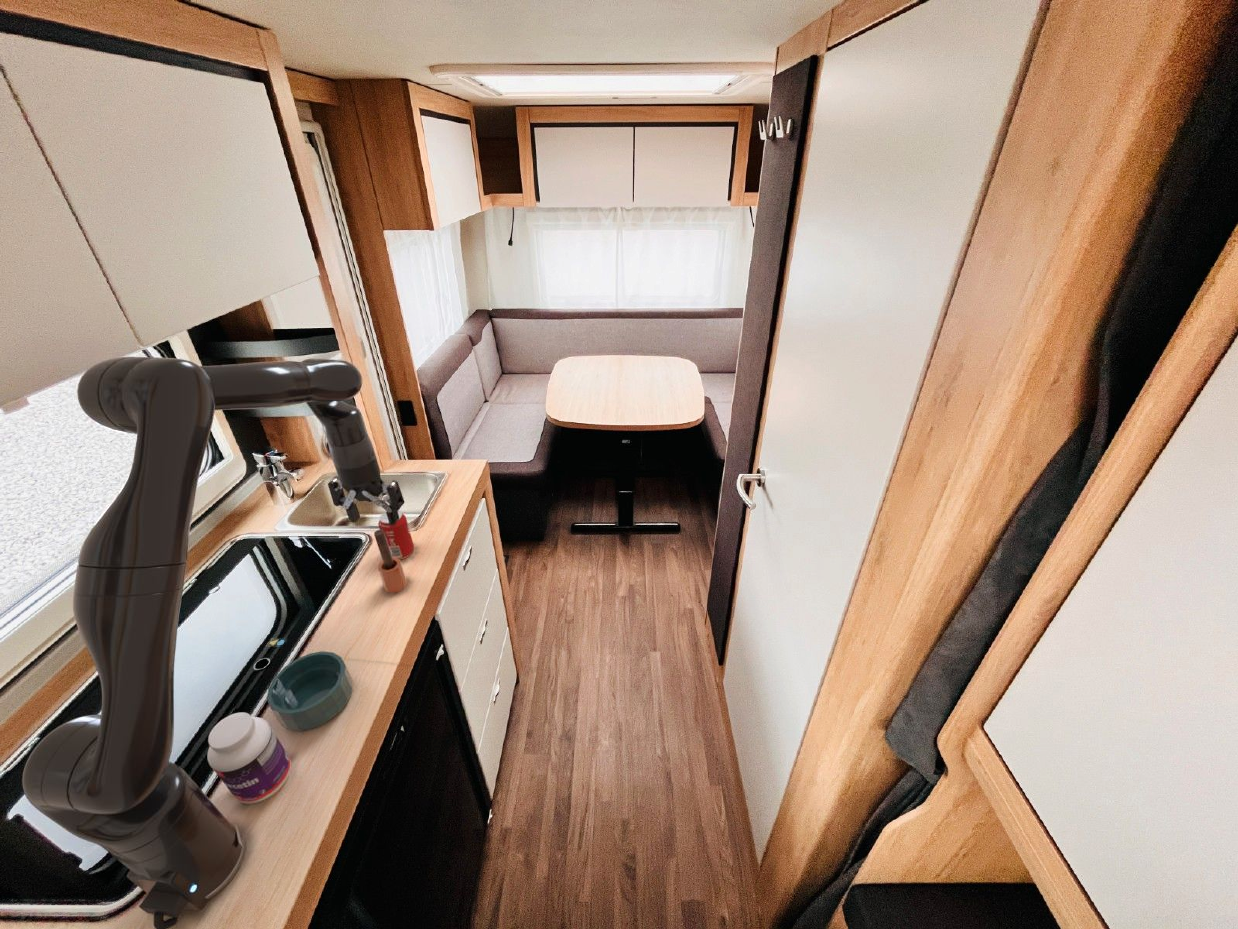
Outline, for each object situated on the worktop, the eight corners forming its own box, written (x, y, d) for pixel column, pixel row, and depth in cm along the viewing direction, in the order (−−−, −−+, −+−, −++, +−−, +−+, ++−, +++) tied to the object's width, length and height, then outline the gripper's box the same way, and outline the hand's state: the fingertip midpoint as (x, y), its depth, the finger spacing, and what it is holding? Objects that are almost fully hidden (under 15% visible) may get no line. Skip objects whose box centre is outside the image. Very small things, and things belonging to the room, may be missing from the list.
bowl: (329, 736, 89) (319, 717, 86) (263, 729, 90) (249, 709, 87) (366, 674, 99) (358, 654, 96) (306, 668, 100) (296, 648, 97)
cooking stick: (398, 588, 118) (380, 535, 109) (389, 588, 118) (372, 535, 109) (402, 582, 119) (385, 529, 111) (393, 581, 120) (376, 529, 111)
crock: (401, 595, 117) (394, 573, 113) (381, 593, 117) (373, 571, 113) (410, 580, 121) (404, 558, 117) (391, 578, 121) (384, 556, 117)
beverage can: (420, 547, 130) (409, 510, 124) (405, 563, 125) (394, 526, 119) (398, 543, 132) (387, 506, 125) (383, 559, 126) (371, 522, 120)
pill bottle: (224, 804, 80) (182, 755, 72) (258, 752, 86) (223, 702, 79) (273, 808, 79) (236, 759, 72) (304, 756, 86) (273, 706, 78)
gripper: (308, 465, 97) (333, 530, 106) (379, 469, 96) (398, 535, 105) (331, 445, 103) (353, 508, 112) (397, 449, 102) (415, 513, 111)
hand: (375, 521), depth 108 cm, fingers open, 8 cm apart
